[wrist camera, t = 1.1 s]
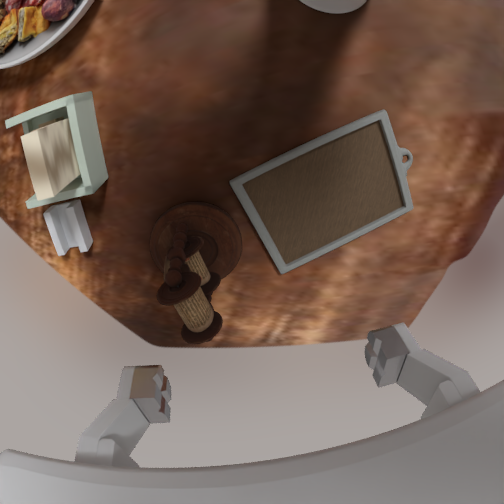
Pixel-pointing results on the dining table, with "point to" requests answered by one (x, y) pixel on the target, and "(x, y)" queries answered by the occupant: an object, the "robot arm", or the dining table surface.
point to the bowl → (35, 26)
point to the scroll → (194, 263)
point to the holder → (68, 226)
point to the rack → (84, 141)
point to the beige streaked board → (51, 158)
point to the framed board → (327, 191)
